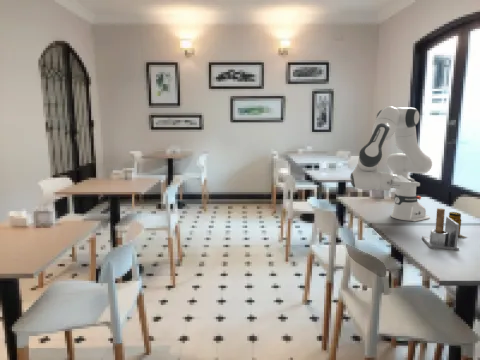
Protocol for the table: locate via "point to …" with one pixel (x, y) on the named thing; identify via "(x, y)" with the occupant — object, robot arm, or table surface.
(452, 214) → the condiment
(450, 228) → the cup bracket
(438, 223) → the wooden cylinder rod
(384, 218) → the table surface
